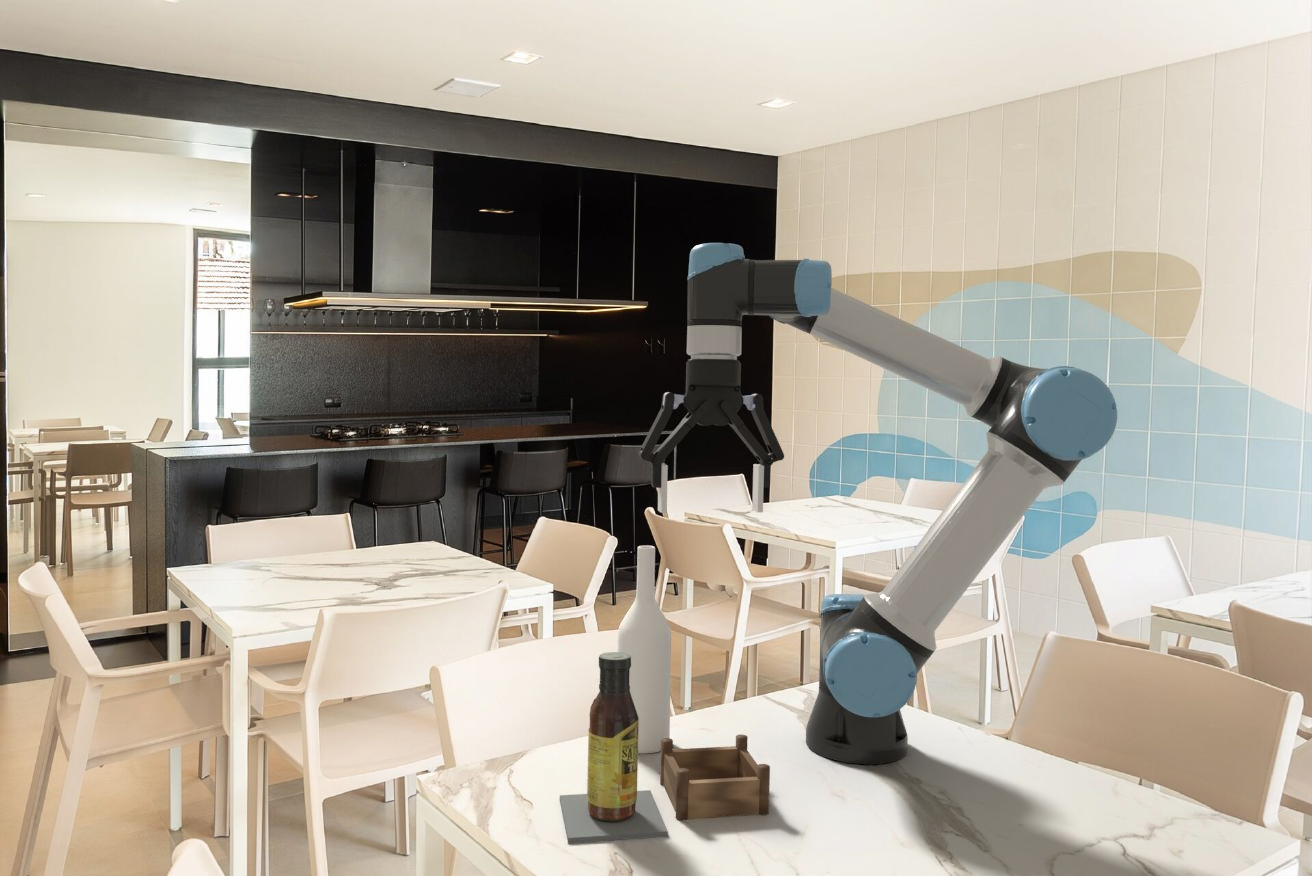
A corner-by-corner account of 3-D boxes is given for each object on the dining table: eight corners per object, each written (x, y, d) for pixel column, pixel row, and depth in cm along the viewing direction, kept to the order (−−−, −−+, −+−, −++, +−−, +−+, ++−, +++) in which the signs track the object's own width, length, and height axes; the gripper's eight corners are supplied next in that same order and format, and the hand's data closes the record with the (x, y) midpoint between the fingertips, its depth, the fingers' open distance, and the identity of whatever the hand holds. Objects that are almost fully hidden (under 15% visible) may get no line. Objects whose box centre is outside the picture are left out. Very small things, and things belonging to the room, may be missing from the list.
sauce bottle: (630, 826, 119) (633, 665, 117) (580, 821, 120) (583, 661, 119) (642, 804, 125) (644, 651, 124) (594, 799, 126) (597, 647, 125)
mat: (650, 794, 129) (650, 790, 129) (667, 836, 118) (667, 831, 118) (559, 799, 127) (559, 795, 127) (567, 842, 115) (568, 837, 115)
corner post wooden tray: (744, 776, 136) (745, 734, 135) (770, 814, 124) (771, 768, 124) (659, 781, 134) (660, 738, 133) (677, 820, 122) (677, 773, 121)
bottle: (675, 752, 144) (679, 550, 143) (621, 755, 142) (625, 552, 141) (662, 732, 152) (666, 541, 150) (611, 736, 150) (614, 542, 149)
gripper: (791, 360, 140) (787, 507, 142) (620, 356, 136) (617, 508, 137) (809, 359, 133) (805, 514, 134) (628, 355, 129) (625, 515, 130)
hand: (710, 511), depth 136 cm, fingers open, 13 cm apart
